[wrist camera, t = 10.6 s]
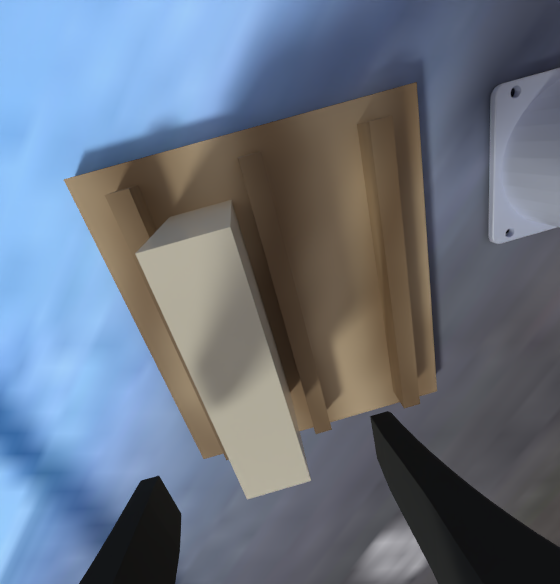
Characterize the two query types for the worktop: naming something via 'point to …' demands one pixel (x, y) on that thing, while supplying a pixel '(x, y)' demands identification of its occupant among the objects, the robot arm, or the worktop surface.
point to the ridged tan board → (295, 251)
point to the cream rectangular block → (227, 343)
